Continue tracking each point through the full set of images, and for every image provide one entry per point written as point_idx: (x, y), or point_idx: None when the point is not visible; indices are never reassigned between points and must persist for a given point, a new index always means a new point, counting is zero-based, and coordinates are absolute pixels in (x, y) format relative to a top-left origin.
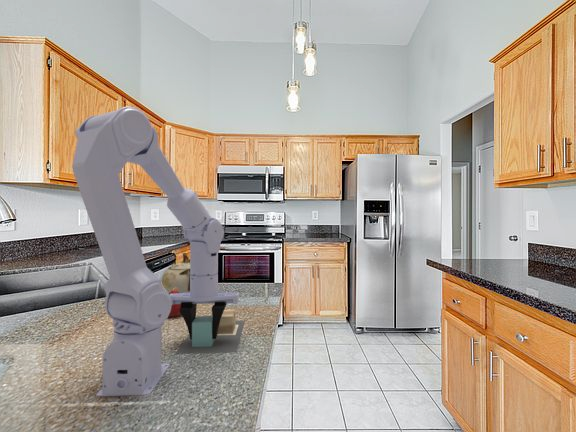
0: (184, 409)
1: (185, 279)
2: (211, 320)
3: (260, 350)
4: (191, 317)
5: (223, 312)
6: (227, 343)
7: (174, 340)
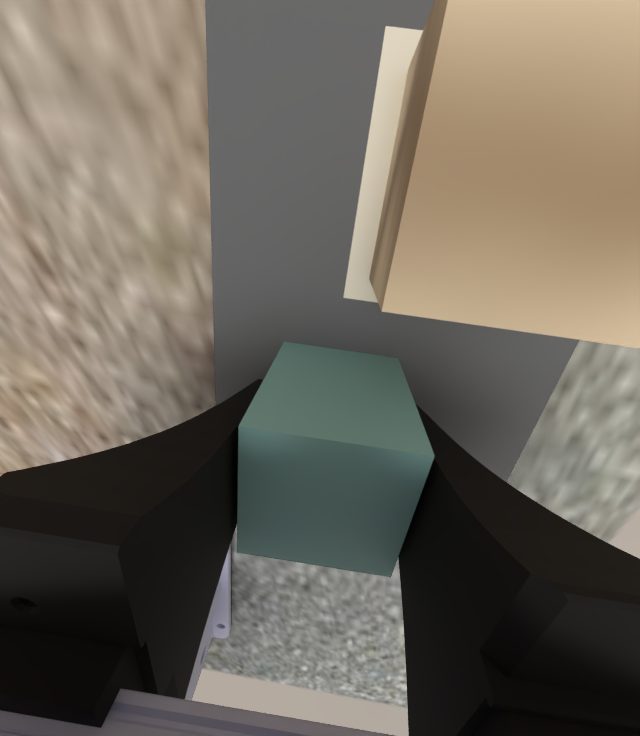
0: (319, 666)
1: None
2: (390, 549)
3: (605, 497)
4: (215, 585)
5: (577, 150)
6: (462, 434)
7: (148, 296)
